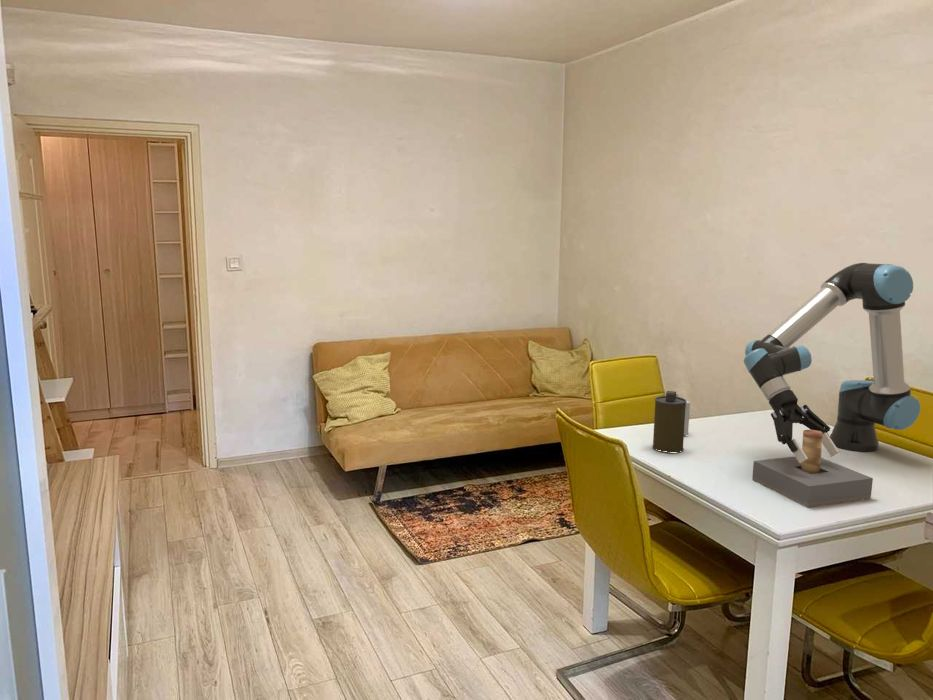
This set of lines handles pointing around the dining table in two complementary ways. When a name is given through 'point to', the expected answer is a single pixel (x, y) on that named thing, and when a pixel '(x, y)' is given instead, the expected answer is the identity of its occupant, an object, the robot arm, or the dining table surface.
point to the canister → (669, 422)
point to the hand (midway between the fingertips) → (819, 457)
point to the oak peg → (812, 451)
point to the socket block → (812, 481)
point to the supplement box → (686, 418)
